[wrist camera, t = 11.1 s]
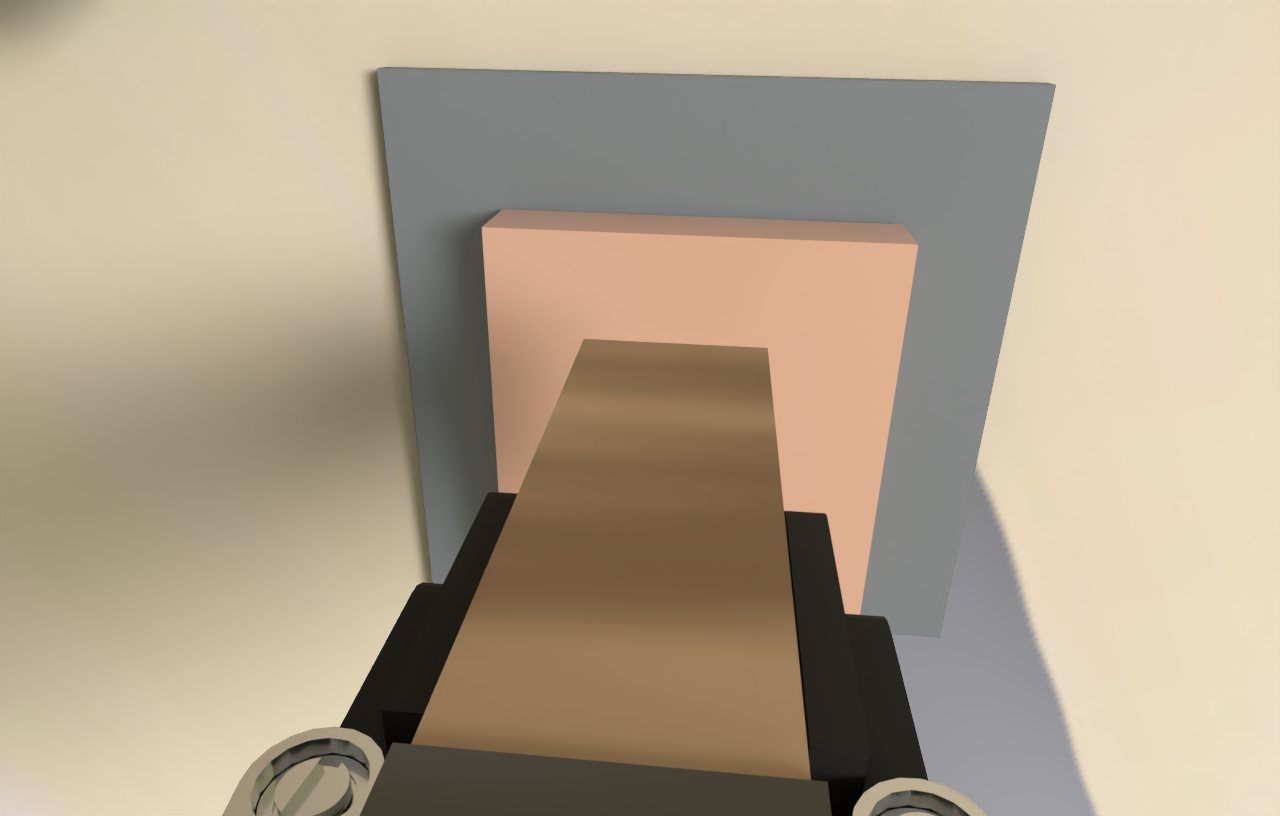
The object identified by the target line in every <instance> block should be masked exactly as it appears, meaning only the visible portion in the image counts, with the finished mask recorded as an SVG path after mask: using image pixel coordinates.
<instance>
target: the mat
mask: <svg viewBox="0 0 1280 816" xmlns="http://www.w3.org/2000/svg"><path fill="white" fill-rule="evenodd" d="M377 76H378V86H379V95H380V104H381V113H382V123H383V132H384V141H385V150H386V159H387V169H388V178H389V187H390V196H391V206H392V215H393V224H394V233H395V242H396V252H397V261H398V270H399V279H400V289H401V298H402V307H403V316H404V325H405V335H406V344H407V353H408V362H409V372H410V381H411V390H412V399H413V409H414V418H415V427H416V436H417V445H418V455H419V464H420V473H421V482H422V492H423V501H424V510H425V519H426V528H427V538H428V547H429V556H430V565H431V575H432V583H436V584H443V583H444V581H445V579H446V577H447V575H448V573H449V571H450V569H451V567H452V565H453V563H454V561H455V559H456V556H457V554H458V552H459V550H460V548H461V546H462V544H463V542H464V540H465V538H466V536H467V534H468V532H469V530H470V528H471V526H472V524H473V522H474V520H475V518H476V516H477V514H478V512H479V510H480V508H481V506H482V504H483V502H484V500H485V498H486V496H487V494H488V493H489V492H499V490H498V475H497V459H496V443H495V428H494V412H493V397H492V381H491V365H490V350H489V334H488V319H487V303H486V287H485V272H484V256H483V240H482V227H483V226H484V225H485V224H486V223H487V222H488V221H489V220H491V219H492V218H493V217H494V216H495V215H496V214H497V213H499V212H500V211H501V210H502V209H513V210H540V211H566V212H593V213H619V214H646V215H672V216H699V217H725V218H752V219H778V220H805V221H831V222H858V223H884V224H903V226H904V227H905V228H906V229H907V231H908V232H909V233H910V234H911V236H912V237H913V238H914V240H915V241H916V242H917V243H918V250H917V257H916V263H915V269H914V276H913V282H912V288H911V295H910V301H909V307H908V314H907V320H906V326H905V333H904V339H903V345H902V352H901V358H900V364H899V371H898V377H897V383H896V390H895V396H894V402H893V409H892V415H891V421H890V428H889V434H888V440H887V447H886V453H885V459H884V466H883V472H882V478H881V485H880V491H879V497H878V504H877V510H876V516H875V523H874V529H873V535H872V542H871V548H870V554H869V561H868V567H867V573H866V580H865V586H864V592H863V599H862V605H861V611H860V615H870V616H884V617H885V618H886V619H887V621H888V624H889V627H890V630H891V634H899V635H912V636H925V637H937V638H939V637H940V633H941V628H942V624H943V619H944V614H945V609H946V605H947V600H948V595H949V590H950V586H951V581H952V576H953V571H954V567H955V562H956V556H957V552H958V548H959V543H960V538H961V533H962V529H963V524H964V519H965V514H966V510H967V504H968V500H969V495H970V491H971V486H972V481H973V476H974V472H975V467H976V462H977V458H978V453H979V448H980V443H981V439H982V434H983V429H984V424H985V420H986V415H987V410H988V405H989V401H990V396H991V391H992V386H993V382H994V377H995V372H996V367H997V363H998V358H999V353H1000V348H1001V344H1002V339H1003V334H1004V329H1005V325H1006V320H1007V315H1008V310H1009V306H1010V301H1011V296H1012V291H1013V287H1014V282H1015V277H1016V273H1017V268H1018V263H1019V258H1020V254H1021V249H1022V244H1023V239H1024V235H1025V230H1026V225H1027V220H1028V216H1029V211H1030V206H1031V201H1032V197H1033V192H1034V187H1035V182H1036V178H1037V173H1038V168H1039V163H1040V159H1041V154H1042V149H1043V144H1044V140H1045V135H1046V130H1047V125H1048V121H1049V116H1050V111H1051V107H1052V102H1053V97H1054V92H1055V88H1056V85H1054V84H1050V83H1031V82H989V81H947V80H906V79H864V78H822V77H780V76H739V75H697V74H655V73H614V72H572V71H530V70H489V69H447V68H405V67H383V68H377Z"/></svg>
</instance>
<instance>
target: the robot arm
mask: <svg viewBox="0 0 1280 816" xmlns="http://www.w3.org/2000/svg"><path fill="white" fill-rule="evenodd" d="M517 494H518V493H503V492H489V493H488V494H487V496H486V498H485V500H484V502H483V504H482V506H481V508H480V510H479V512H478V514H477V516H476V518H475V520H474V522H473V524H472V526H471V528H470V530H469V532H468V534H467V536H466V538H465V540H464V542H463V544H462V546H461V548H460V550H459V552H458V554H457V556H456V559H455V561H454V563H453V565H452V567H451V569H450V571H449V573H448V575H447V577H446V579H445V581H444V583H443V584H436V583H421V584H419V585H417V586H416V588H415V589H414V591H413V592H412V594H411V596H410V598H409V599H408V601H407V603H406V605H405V607H404V609H403V611H402V612H401V614H400V616H399V618H398V620H397V622H396V624H395V625H394V627H393V629H392V631H391V633H390V635H389V637H388V638H387V640H386V642H385V644H384V646H383V648H382V650H381V652H380V653H379V655H378V657H377V659H376V661H375V663H374V665H373V666H372V668H371V670H370V672H369V674H368V676H367V678H366V679H365V681H364V683H363V685H362V687H361V689H360V691H359V692H358V694H357V696H356V698H355V700H354V702H353V704H352V706H351V707H350V709H349V711H348V713H347V715H346V717H345V719H344V720H343V722H342V724H341V726H340V727H328V728H318V729H312V730H309V731H306V732H302V733H299V734H296V735H293V736H290V737H289V738H287V739H285V740H283V741H282V742H280V743H278V744H276V745H274V746H273V747H271V748H269V749H268V750H267V751H266V752H265V753H264V754H263V755H261V756H260V757H259V758H258V759H257V760H256V761H255V762H253V763H252V765H251V766H250V767H249V769H248V770H247V772H246V773H245V775H244V776H243V777H242V779H241V780H240V782H239V784H238V786H237V788H236V790H235V792H234V793H233V795H232V797H231V799H230V801H229V803H228V805H227V807H226V809H225V811H224V813H223V815H222V816H360V814H361V811H362V809H363V807H364V805H365V802H366V800H367V798H368V796H369V794H370V791H371V789H372V787H373V785H374V783H375V780H376V778H377V776H378V774H379V772H380V769H381V767H382V765H383V763H384V760H385V758H386V756H387V754H388V752H389V749H390V747H391V745H392V743H405V744H411V743H412V741H413V738H414V736H415V734H416V731H417V729H418V727H419V724H420V722H421V719H422V717H423V715H424V712H425V710H426V708H427V705H428V703H429V701H430V698H431V696H432V694H433V691H434V689H435V687H436V684H437V682H438V680H439V677H440V675H441V673H442V670H443V668H444V666H445V663H446V661H447V659H448V656H449V654H450V651H451V649H452V647H453V644H454V642H455V640H456V637H457V635H458V633H459V630H460V628H461V626H462V623H463V621H464V619H465V616H466V614H467V612H468V609H469V607H470V605H471V602H472V600H473V598H474V595H475V593H476V590H477V588H478V586H479V583H480V581H481V579H482V576H483V574H484V572H485V569H486V567H487V565H488V562H489V560H490V558H491V555H492V553H493V551H494V548H495V546H496V544H497V541H498V539H499V537H500V534H501V532H502V529H503V527H504V525H505V522H506V520H507V518H508V515H509V513H510V511H511V508H512V506H513V504H514V501H515V499H516V497H517ZM784 516H785V526H786V536H787V546H788V556H789V566H790V576H791V586H792V596H793V606H794V616H795V626H796V636H797V646H798V656H799V666H800V676H801V686H802V696H803V706H804V716H805V726H806V736H807V746H808V756H809V766H810V776H811V780H815V781H826V782H828V789H829V798H830V806H831V814H832V816H987V815H986V813H985V812H983V811H982V810H981V809H980V808H979V807H977V806H976V805H975V804H974V803H973V802H971V801H970V800H969V799H968V798H967V797H965V796H963V795H961V794H960V793H958V792H956V791H954V790H952V789H950V788H948V787H946V786H944V785H942V784H938V783H934V782H931V781H928V778H927V774H926V770H925V766H924V762H923V758H922V754H921V750H920V746H919V742H918V738H917V734H916V730H915V726H914V722H913V718H912V714H911V710H910V706H909V702H908V698H907V694H906V690H905V686H904V682H903V678H902V674H901V670H900V666H899V662H898V658H897V654H896V650H895V646H894V642H893V638H892V634H891V630H890V627H889V624H888V621H887V619H886V618H885V617H884V616H870V615H857V614H845V611H844V605H843V600H842V594H841V589H840V583H839V578H838V572H837V567H836V562H835V556H834V551H833V545H832V540H831V534H830V529H829V523H828V518H827V515H826V514H825V513H813V512H798V511H784Z"/></svg>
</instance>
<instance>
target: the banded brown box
mask: <svg viewBox="0 0 1280 816" xmlns="http://www.w3.org/2000/svg"><path fill="white" fill-rule="evenodd" d="M360 816H832V814H831V806H830V798H829V789H828V782H826V781H815V780H811V776H810V766H809V756H808V746H807V736H806V726H805V716H804V706H803V696H802V686H801V676H800V666H799V656H798V646H797V636H796V626H795V616H794V606H793V596H792V586H791V576H790V566H789V556H788V546H787V536H786V526H785V516H784V506H783V496H782V486H781V476H780V466H779V456H778V446H777V436H776V426H775V416H774V406H773V396H772V386H771V376H770V366H769V356H768V348H758V347H738V346H718V345H698V344H678V343H658V342H638V341H618V340H598V339H583V342H582V344H581V347H580V349H579V351H578V354H577V356H576V358H575V361H574V363H573V365H572V368H571V370H570V372H569V375H568V377H567V379H566V382H565V384H564V386H563V389H562V391H561V393H560V396H559V398H558V400H557V403H556V405H555V408H554V410H553V412H552V415H551V417H550V419H549V422H548V424H547V426H546V429H545V431H544V433H543V436H542V438H541V440H540V443H539V445H538V447H537V450H536V452H535V454H534V457H533V459H532V461H531V464H530V466H529V469H528V471H527V473H526V476H525V478H524V480H523V483H522V485H521V487H520V490H519V492H518V494H517V497H516V499H515V501H514V504H513V506H512V508H511V511H510V513H509V515H508V518H507V520H506V522H505V525H504V527H503V529H502V532H501V534H500V537H499V539H498V541H497V544H496V546H495V548H494V551H493V553H492V555H491V558H490V560H489V562H488V565H487V567H486V569H485V572H484V574H483V576H482V579H481V581H480V583H479V586H478V588H477V590H476V593H475V595H474V598H473V600H472V602H471V605H470V607H469V609H468V612H467V614H466V616H465V619H464V621H463V623H462V626H461V628H460V630H459V633H458V635H457V637H456V640H455V642H454V644H453V647H452V649H451V651H450V654H449V656H448V659H447V661H446V663H445V666H444V668H443V670H442V673H441V675H440V677H439V680H438V682H437V684H436V687H435V689H434V691H433V694H432V696H431V698H430V701H429V703H428V705H427V708H426V710H425V712H424V715H423V717H422V719H421V722H420V724H419V727H418V729H417V731H416V734H415V736H414V738H413V741H412V743H411V744H405V743H392V745H391V747H390V749H389V752H388V754H387V756H386V758H385V760H384V763H383V765H382V767H381V769H380V772H379V774H378V776H377V778H376V780H375V783H374V785H373V787H372V789H371V791H370V794H369V796H368V798H367V800H366V802H365V805H364V807H363V809H362V811H361V814H360Z"/></svg>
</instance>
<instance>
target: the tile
mask: <svg viewBox="0 0 1280 816" xmlns="http://www.w3.org/2000/svg"><path fill="white" fill-rule="evenodd" d="M482 240H483V256H484V272H485V287H486V303H487V319H488V334H489V350H490V365H491V381H492V397H493V412H494V428H495V443H496V459H497V475H498V490H499V492H503V493H518V492H519V490H520V487H521V485H522V483H523V480H524V478H525V476H526V473H527V471H528V469H529V466H530V464H531V461H532V459H533V457H534V454H535V452H536V450H537V447H538V445H539V443H540V440H541V438H542V436H543V433H544V431H545V429H546V426H547V424H548V422H549V419H550V417H551V415H552V412H553V410H554V408H555V405H556V403H557V400H558V398H559V396H560V393H561V391H562V389H563V386H564V384H565V382H566V379H567V377H568V375H569V372H570V370H571V368H572V365H573V363H574V361H575V358H576V356H577V354H578V351H579V349H580V347H581V344H582V342H583V339H598V340H618V341H638V342H658V343H678V344H698V345H718V346H738V347H758V348H768V356H769V366H770V376H771V386H772V396H773V406H774V416H775V426H776V436H777V446H778V456H779V466H780V476H781V486H782V496H783V506H784V511H798V512H813V513H825V514H826V515H827V518H828V523H829V529H830V534H831V540H832V545H833V551H834V556H835V562H836V567H837V572H838V578H839V583H840V589H841V594H842V600H843V605H844V611H845V614H857V615H860V611H861V605H862V599H863V592H864V586H865V580H866V573H867V567H868V561H869V554H870V548H871V542H872V535H873V529H874V523H875V516H876V510H877V504H878V497H879V491H880V485H881V478H882V472H883V466H884V459H885V453H886V447H887V440H888V434H889V428H890V421H891V415H892V409H893V402H894V396H895V390H896V383H897V377H898V371H899V364H900V358H901V352H902V345H903V339H904V333H905V326H906V320H907V314H908V307H909V301H910V295H911V288H912V282H913V276H914V269H915V263H916V257H917V250H918V243H917V242H916V241H915V240H914V238H913V237H912V236H911V234H910V233H909V232H908V231H907V229H906V228H905V227H904V226H903V224H884V223H858V222H831V221H805V220H778V219H752V218H725V217H699V216H672V215H646V214H619V213H593V212H566V211H540V210H513V209H502V210H501V211H500V212H499V213H497V214H496V215H495V216H494V217H493V218H492V219H491V220H489V221H488V222H487V223H486V224H485V225H484V226H483V227H482Z"/></svg>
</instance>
